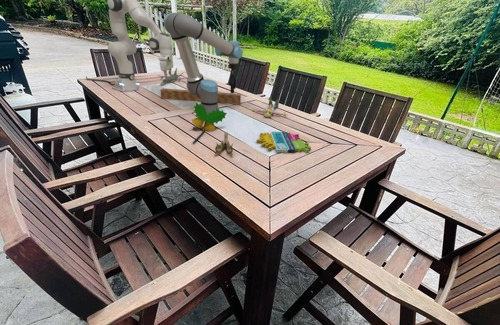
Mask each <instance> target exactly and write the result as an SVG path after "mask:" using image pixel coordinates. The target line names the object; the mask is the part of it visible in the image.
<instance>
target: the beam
mask: <svg viewBox="0 0 500 325" xmlns="http://www.w3.org/2000/svg"><path fill="white" fill-rule="evenodd" d="M159 91H160V99H161V100H171V101H172V100H173V101H185V102H197V103H198V102H199V103H201V97H199V96H196V95H193V94H192V93H190V92H189V91H188V89H179V88H178V89H177V88H166V87H165V88H164V87H162V88H161V89H159ZM241 102H242V94H241V93H230V92H221V91H220V92H219V91H218V104H226V105H237V106H238V105H239V106H240V105H241Z"/></svg>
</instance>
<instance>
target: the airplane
mask: <svg viewBox="0 0 500 325" xmlns="http://www.w3.org/2000/svg"><path fill="white" fill-rule="evenodd" d="M168 75H169V76H168ZM168 75H167V77H165V75H160V74H159V75H156V76H157V77H160V80H162V79H163V80H162V81H161V82H160V84H159V85H158V87H159V86H164V85H166V84H168V83H175V82H176V81H178V82H180V81H181V80H187V78H188V77H187V78H186V77H183V75H182V74H178V67H176V68H175V70H174V72H173V74H172V73H171V74H169V73H168Z"/></svg>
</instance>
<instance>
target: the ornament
mask: <svg viewBox="0 0 500 325" xmlns="http://www.w3.org/2000/svg"><path fill="white" fill-rule="evenodd" d="M219 110H220V108H219V109H217V110H216V111H214V110H212V112H211V113H208V112H206V109H204V106H201V103H198V102H197V101H195V105H194V106H193V112H194V113H195V118H192V119H191V122H192V123H193V125H195V127H197V128H198V129H202V130H204V129H205V131H206V132H212V131H213V132H214V131H215V130H216V126H215V124H218V123H219V122H223V119H226V115H227V114H228V113H227V112H224V110H223V109H221V110H220V111H219ZM207 113H208V115H207ZM204 123H205V125H204ZM214 123H215V124H214Z"/></svg>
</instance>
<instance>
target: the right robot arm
mask: <svg viewBox="0 0 500 325" xmlns="http://www.w3.org/2000/svg"><path fill="white" fill-rule="evenodd" d="M163 28H164V29H165V31H166V32H167V34H168V33H169V36H170V38H171V41H174V42H175V44H176V47H177V50H178V52H179V56H180V58H181V61H182V64H183V67H184V69H185V73H186V75H187V79H186V90H188V91H189V92H190V93H192V94H193V95H196V96H199V97H201V102H200V104H201V106H204V109H206V112H208V113H211V112H212V110H214V111H216V110H217V109H219V111H221V110H220V108H219V103H218V92H219V87H218V83H217V82H216V81H215V80H213V79H207V78H206V79H204V75H203V74H202V73H201V72H200V70H199V67H198V63H197V60H196V58H195V54H194V51H193V48H192V45H191V42H190V40H189V38H192V39H194V40H196V41H197V40H199V41H200V42H203V43H205V44H206V45H209V46H210V47H212V48H214V53H215V55H216V56H218V57H222V56H223V57H227V60H228V69H229V70H230V81H229V82H230V83H229V86H230V92H229V93H233V94H235V90H236V88H237V70H239V61H240V59H241V58H243V55H244V54H243V53H244V52H243V49H242V47H240V42H239V41H238V40H229V41H227V40H226V39H224V38H222V36H219V35H217V34H216V33H215V32H213V31H211V30H209V29H208V28H206V27H205V26H204V25H203V23H201V22H200V21H198V20H197V19H196V18H194V17H192V16H191V15H189V14H186V13H180V12H170V13H168V14H166V15H165V17H164V19H163ZM208 113H207V115H208ZM204 125H205V122H204V123H203V126H204ZM205 131H206V130H205V129H202V132H201V133H200V134H199V135H198V136H197V137H196V138H195V139H194V141H192V144H196V143H197V141H198V140H199V139H200V138H201V137H202V136H203V135H204V133H205Z"/></svg>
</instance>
